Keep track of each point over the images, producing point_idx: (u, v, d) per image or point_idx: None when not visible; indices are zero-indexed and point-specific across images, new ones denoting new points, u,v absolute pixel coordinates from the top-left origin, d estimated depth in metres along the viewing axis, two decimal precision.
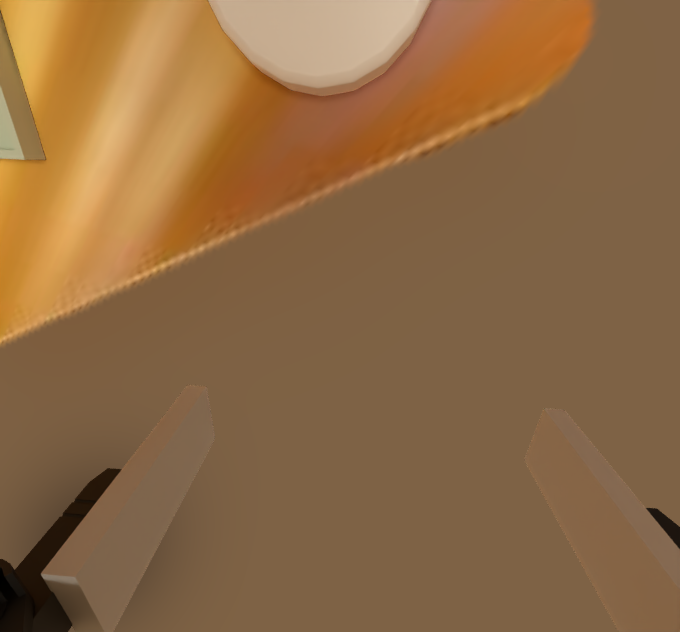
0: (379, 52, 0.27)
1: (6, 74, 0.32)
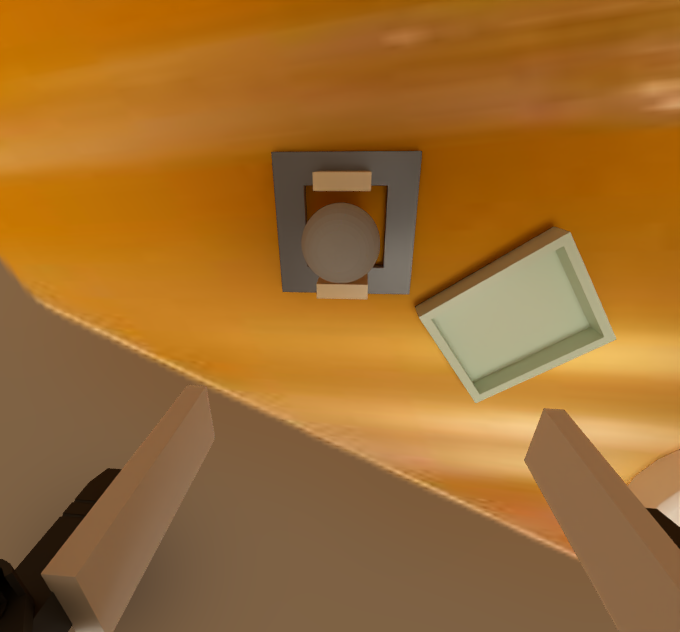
0: None
1: None
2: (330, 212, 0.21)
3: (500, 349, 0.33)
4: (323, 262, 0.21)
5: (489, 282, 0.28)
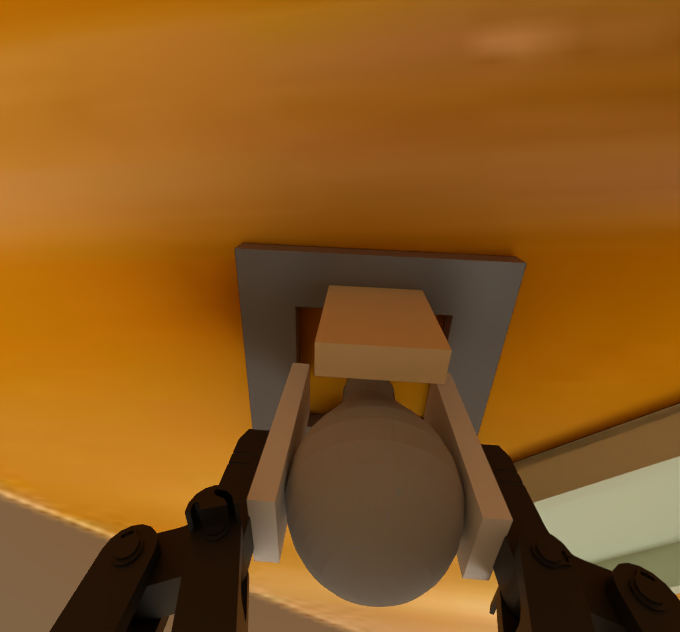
0: None
1: None
2: (360, 477, 0.08)
3: (599, 541, 0.21)
4: (337, 592, 0.09)
5: (618, 481, 0.16)
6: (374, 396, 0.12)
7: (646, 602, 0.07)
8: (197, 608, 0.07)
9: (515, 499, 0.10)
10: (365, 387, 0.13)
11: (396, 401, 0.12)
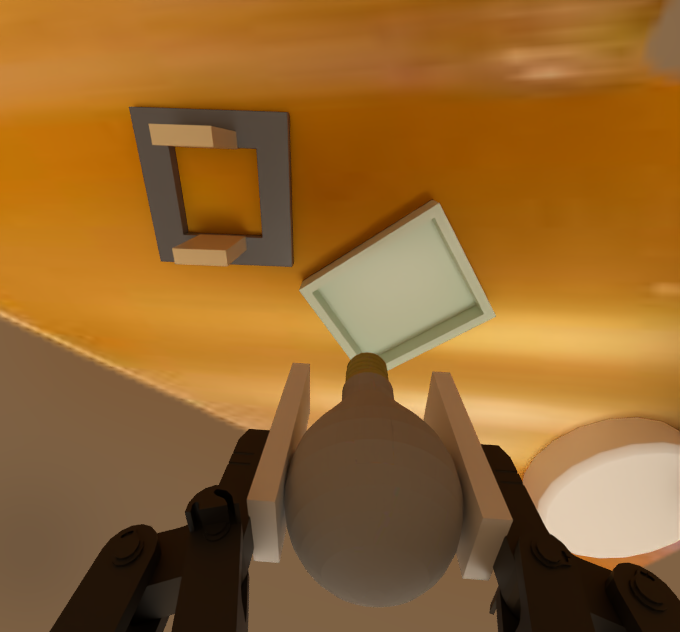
0: (577, 554, 0.41)
1: None
2: (358, 477, 0.08)
3: (391, 326, 0.33)
4: (335, 592, 0.08)
5: (365, 254, 0.28)
6: (373, 396, 0.12)
7: (646, 602, 0.07)
8: (197, 609, 0.07)
9: (515, 500, 0.10)
10: (364, 387, 0.13)
11: (395, 401, 0.12)
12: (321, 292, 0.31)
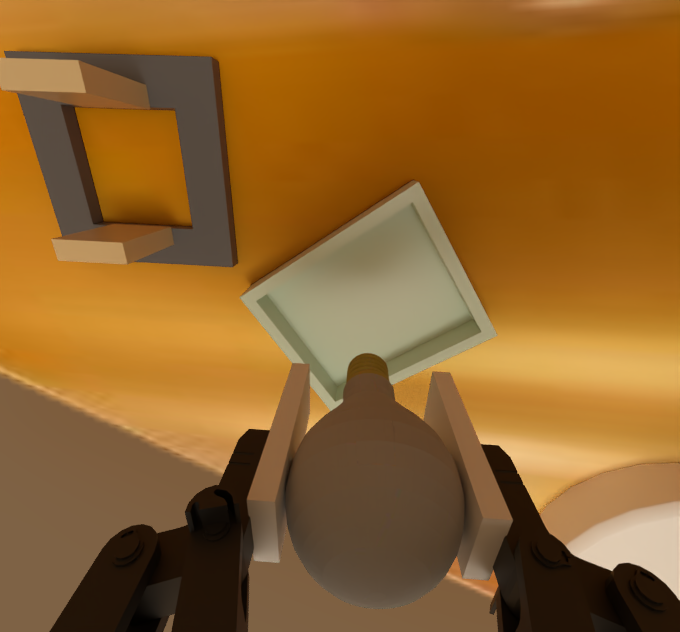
0: None
1: None
2: (360, 478, 0.08)
3: (363, 345, 0.26)
4: (336, 594, 0.08)
5: (322, 251, 0.21)
6: (374, 397, 0.12)
7: (645, 601, 0.07)
8: (197, 608, 0.07)
9: (515, 499, 0.10)
10: (365, 388, 0.13)
11: (396, 402, 0.12)
12: (273, 300, 0.25)
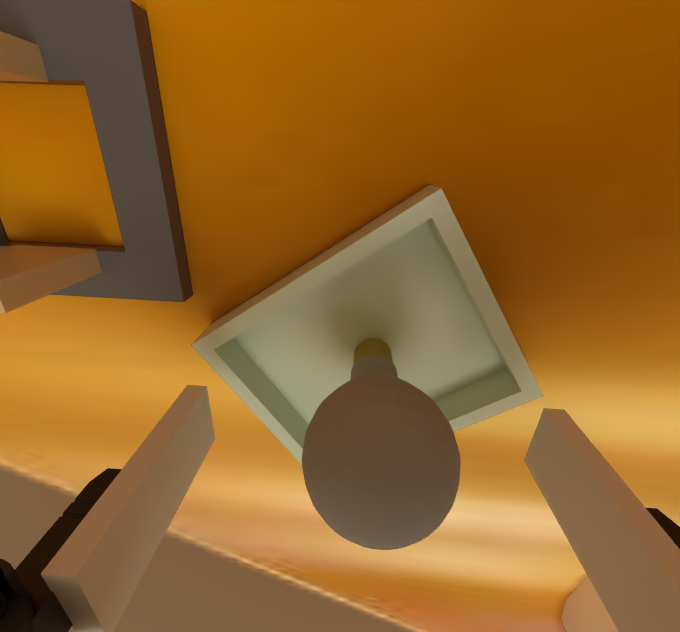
0: None
1: None
2: (369, 435, 0.10)
3: None
4: (349, 535, 0.10)
5: (302, 285, 0.15)
6: (379, 373, 0.13)
7: None
8: None
9: None
10: (371, 367, 0.15)
11: None
12: (241, 343, 0.19)
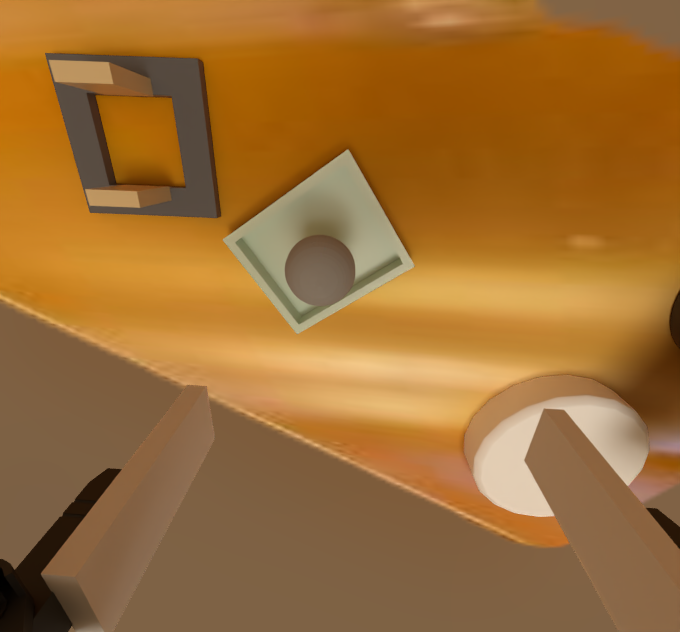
0: (515, 512, 0.42)
1: None
2: (311, 245, 0.23)
3: None
4: (305, 289, 0.24)
5: (282, 202, 0.28)
6: None
7: None
8: None
9: None
10: None
11: None
12: (249, 245, 0.32)
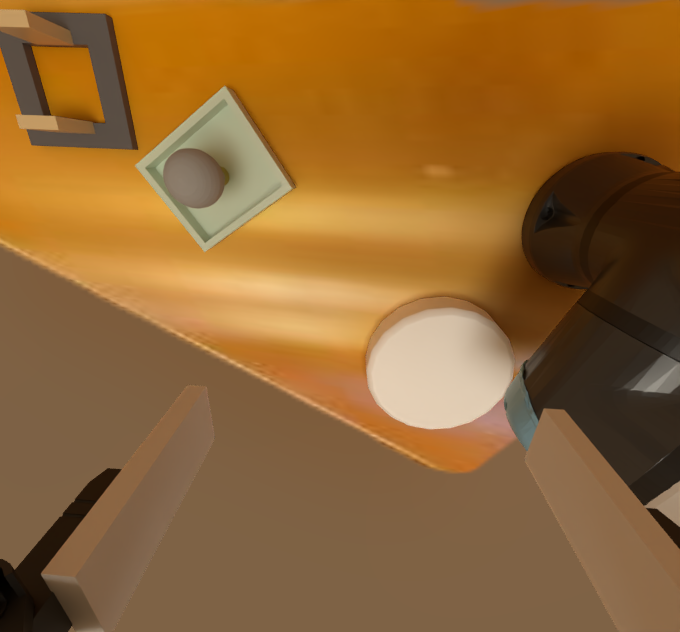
0: (409, 424, 0.48)
1: (253, 217, 0.40)
2: (178, 152, 0.30)
3: (223, 206, 0.40)
4: (173, 187, 0.30)
5: (179, 132, 0.35)
6: None
7: None
8: None
9: None
10: None
11: None
12: (162, 174, 0.39)
